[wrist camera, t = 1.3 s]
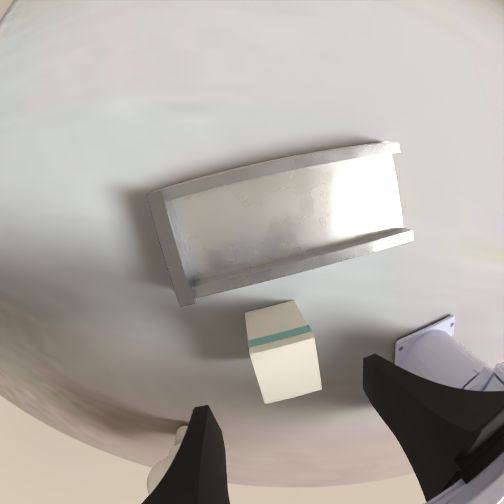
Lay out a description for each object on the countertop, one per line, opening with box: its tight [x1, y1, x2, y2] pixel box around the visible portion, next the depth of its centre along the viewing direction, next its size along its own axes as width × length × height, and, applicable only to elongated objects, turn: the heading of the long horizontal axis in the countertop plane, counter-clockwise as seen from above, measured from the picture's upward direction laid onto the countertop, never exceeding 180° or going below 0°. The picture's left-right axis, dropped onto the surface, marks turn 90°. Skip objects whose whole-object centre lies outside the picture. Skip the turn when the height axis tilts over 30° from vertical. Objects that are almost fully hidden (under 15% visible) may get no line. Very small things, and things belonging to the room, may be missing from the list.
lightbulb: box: [147, 426, 188, 495], centre depth 19 cm, size 6×6×11 cm
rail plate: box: [147, 141, 413, 307], centre depth 19 cm, size 8×18×3 cm, turn 103°
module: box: [245, 300, 322, 404], centre depth 20 cm, size 5×4×6 cm
